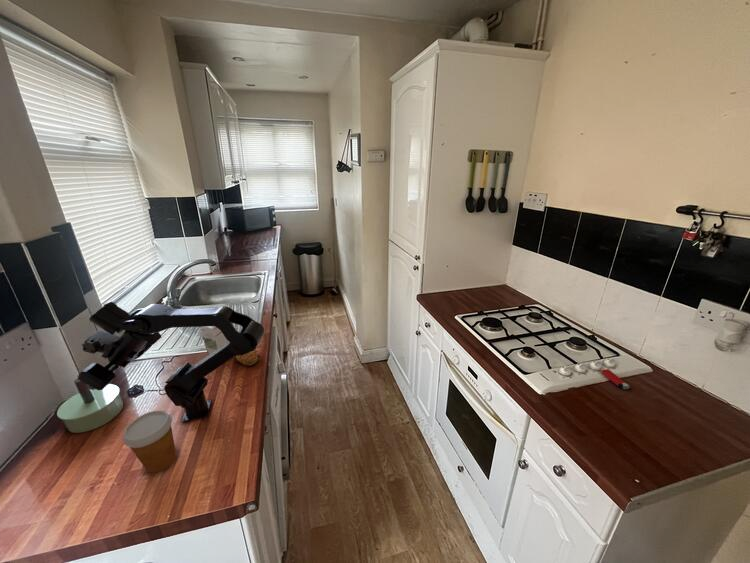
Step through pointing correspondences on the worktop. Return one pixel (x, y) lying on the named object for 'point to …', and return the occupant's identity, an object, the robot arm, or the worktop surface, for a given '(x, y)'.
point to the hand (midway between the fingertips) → (104, 377)
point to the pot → (95, 418)
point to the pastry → (248, 358)
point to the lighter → (615, 379)
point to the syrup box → (213, 338)
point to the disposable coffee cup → (152, 440)
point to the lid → (87, 401)
